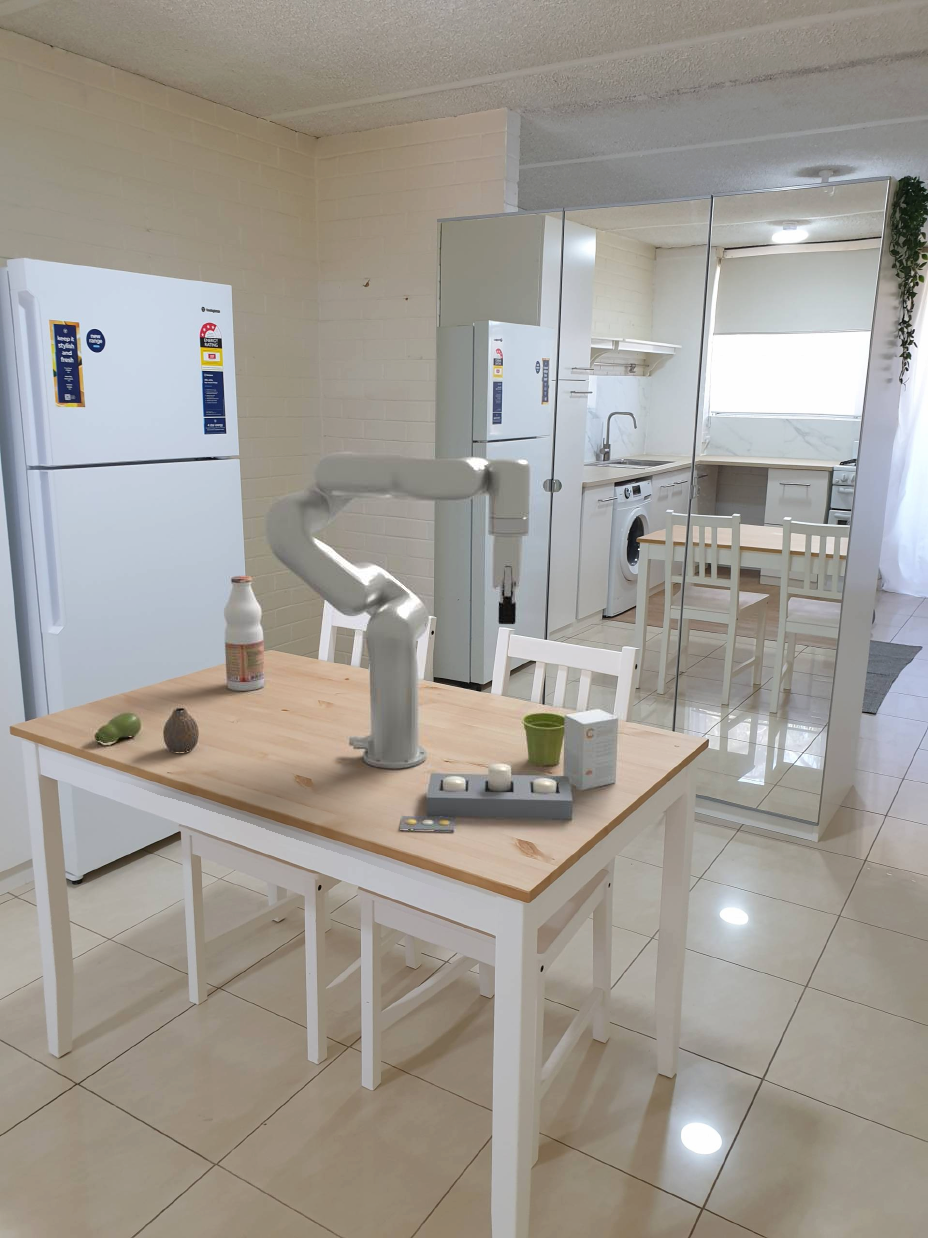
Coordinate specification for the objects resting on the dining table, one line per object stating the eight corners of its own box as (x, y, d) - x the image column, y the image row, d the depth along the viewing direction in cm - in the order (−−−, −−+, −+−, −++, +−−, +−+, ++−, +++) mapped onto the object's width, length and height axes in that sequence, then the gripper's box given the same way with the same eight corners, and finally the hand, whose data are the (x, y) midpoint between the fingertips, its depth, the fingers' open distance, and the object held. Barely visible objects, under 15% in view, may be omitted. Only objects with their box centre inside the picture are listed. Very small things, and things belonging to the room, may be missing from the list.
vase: (184, 742, 197) (182, 702, 196) (206, 749, 193) (204, 708, 192) (157, 751, 192) (154, 710, 190) (179, 758, 188) (176, 717, 186)
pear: (143, 711, 200) (103, 731, 192) (148, 733, 201) (108, 754, 194) (127, 706, 203) (86, 726, 195) (132, 728, 205) (92, 748, 197)
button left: (442, 804, 165) (442, 784, 164) (443, 795, 169) (443, 776, 168) (464, 804, 165) (465, 785, 164) (465, 795, 169) (465, 776, 168)
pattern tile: (399, 831, 156) (399, 828, 156) (402, 818, 161) (402, 815, 161) (453, 832, 156) (453, 829, 156) (455, 819, 161) (455, 816, 161)
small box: (596, 772, 183) (599, 708, 180) (616, 783, 177) (619, 717, 174) (561, 779, 179) (563, 714, 176) (581, 791, 173) (583, 723, 171)
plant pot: (575, 758, 190) (576, 717, 188) (555, 773, 182) (556, 730, 180) (533, 750, 194) (534, 709, 192) (512, 764, 186) (513, 722, 185)
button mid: (487, 791, 164) (488, 771, 164) (488, 782, 168) (488, 763, 167) (510, 791, 164) (511, 772, 163) (510, 782, 168) (510, 764, 167)
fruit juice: (223, 691, 233) (217, 580, 227) (231, 681, 242) (226, 573, 236) (261, 691, 233) (256, 580, 227) (268, 681, 242) (264, 573, 236)
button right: (533, 806, 165) (533, 786, 164) (532, 796, 168) (533, 778, 168) (556, 806, 164) (556, 787, 164) (555, 797, 168) (555, 778, 168)
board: (426, 816, 162) (426, 797, 161) (431, 791, 173) (431, 773, 172) (572, 819, 161) (572, 800, 160) (567, 794, 172) (568, 776, 171)
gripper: (488, 521, 182) (487, 614, 186) (487, 531, 167) (486, 631, 171) (527, 522, 181) (525, 615, 185) (530, 531, 167) (527, 632, 171)
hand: (506, 622), depth 178 cm, fingers closed
